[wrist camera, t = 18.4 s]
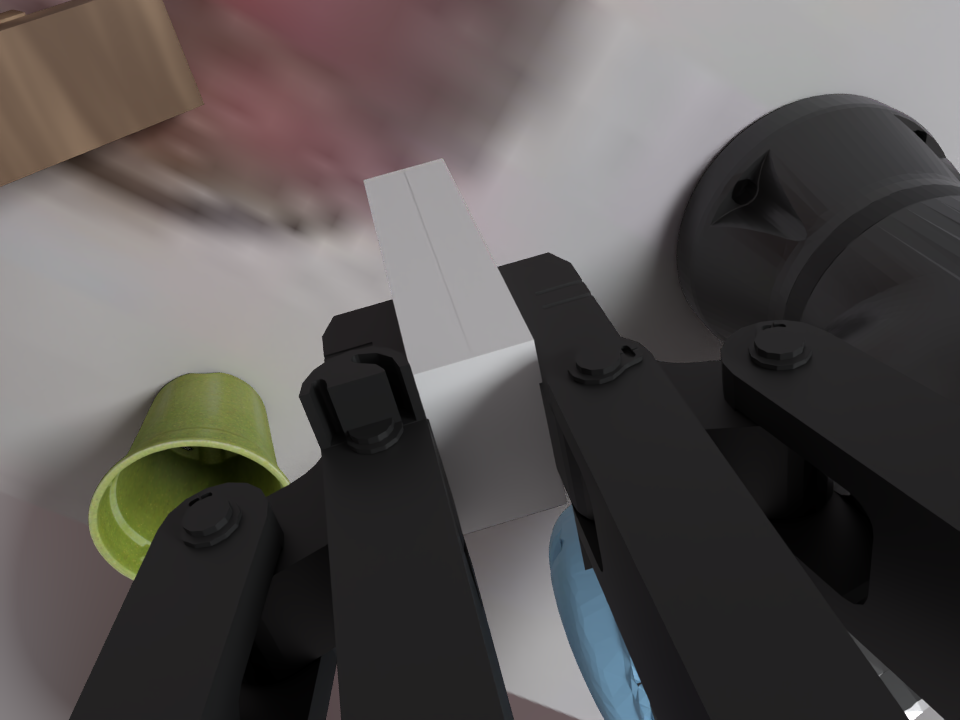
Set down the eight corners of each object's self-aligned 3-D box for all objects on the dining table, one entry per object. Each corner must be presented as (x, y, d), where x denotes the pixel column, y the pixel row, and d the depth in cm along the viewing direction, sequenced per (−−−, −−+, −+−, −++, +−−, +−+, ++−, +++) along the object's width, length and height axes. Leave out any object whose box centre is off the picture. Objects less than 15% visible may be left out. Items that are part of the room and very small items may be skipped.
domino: (154, -19, 33) (-116, 68, 29) (204, 104, 36) (-35, 200, 31) (136, -21, 34) (-122, 62, 30) (185, 98, 37) (-45, 189, 33)
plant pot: (79, 425, 45) (43, 538, 38) (192, 309, 43) (176, 407, 36) (221, 504, 50) (213, 619, 43) (329, 404, 48) (339, 507, 40)
